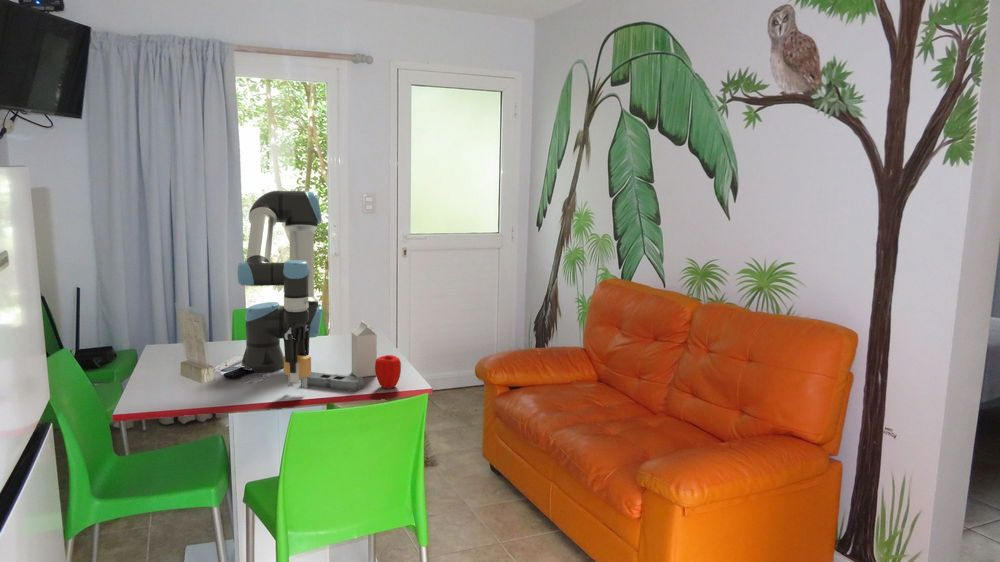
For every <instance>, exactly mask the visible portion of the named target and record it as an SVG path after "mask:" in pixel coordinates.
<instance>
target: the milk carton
mask: <svg viewBox="0 0 1000 562" xmlns="http://www.w3.org/2000/svg"><path fill="white" fill-rule="evenodd" d="M373 329H374V327H373V326H372V325H370V324H367V323H366V322H364V321H363V320H360V323H359V325H357V326H356V327H355V328H354V329H353V330H352V331H351V373H352V375H354V377H362V378H365V377H374V376H376V373H375V362H376V359H377V358H378V357H377V355H378V351H377V346H378V345H377V343H378V342H377V341H378V340H377V334H376V333H375V332H374V331H373ZM376 377H377V376H376Z"/></svg>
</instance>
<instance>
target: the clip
mask: <svg viewBox="0 0 1000 562" xmlns="http://www.w3.org/2000/svg"><path fill="white" fill-rule="evenodd" d="M283 356H284V368H283V375H285V376H287V378H288V379H287V385H288V387H293V386H294V382H290V363H288V362H285V355H283ZM297 362H298V363H299V376H301V377H302V385H301V388H302V389H306V388H307V389H308V386H307V377H308V376H309V375H311V372H312V356H309V355H306V356H301V355H297Z"/></svg>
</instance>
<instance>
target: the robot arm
mask: <svg viewBox="0 0 1000 562" xmlns="http://www.w3.org/2000/svg"><path fill="white" fill-rule="evenodd" d="M321 214H322V213H321V207H320V200H319V195H318V194H317V193H316V192H315V191H307V190H271V191H269V192H266V193H264V194H263V195H261V196H259V198H257V199H256V200H255V202H253V204H252V206H251V207H250V209H249V213H248V221H249V223H250V228H249V229H250V230H249V236H248V244H247V252H246V258H245V259H246V260H245V261H244V262H240V263H238V265H237V282H238V284H239V285H240V286H249V287H250V286H251V287H258V286H259V287H264V286H267V287H268V286H269V287H270V286H274V287H275V286H276V287H277V286H283V306H280V303H279V302H278V301H277V302H274V301H273V302H272V301H271V302H270V301H269V302H261V303H257V304H253V305H251V306H248V307H247V308H246V310H245V319H244V322H245V349H244V353H243V357H242V360H241V367H242V366H245V367H249V368H252V369H253V371H254V372H253V373H268V372H270V373H271V372H274V371H275V372H276V371H279V370H281V369H284V356H285V362H288V363H290V382H293V383H296V384H298V383H299V382H300V380H301V379H302V377H301V376H299V363H298V362H297V355H301V356H309V353H310V339H311V338H316V337H318V336H319V334H320V330H321V321H322V312H323V306H321V305H319V299H317V298H316V297H315V259H314V257H315V252H314V251H315V244H314V243H315V241H314V237H315V236H314V234H315V233H314V232H315V231H317V229H318V227H319V225H320V224H321V223H322V222H323V221H322V215H321ZM277 223H282V224H284V225H285V226H284V227H285V229H286V230H287V231H288V232H289V260H287V261H285V262H271V256H272V246H273V233H274V227H275V225H276V224H277ZM281 339H282V340H283V347H284V349H283V350H284V353H283V350H282V348H281V344H280V343H281V342H280V341H281Z"/></svg>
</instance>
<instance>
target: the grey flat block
mask: <svg viewBox="0 0 1000 562" xmlns="http://www.w3.org/2000/svg"><path fill="white" fill-rule="evenodd" d="M364 378H365V377H356V376H352V375H343V374H342V375H341V374H335V373H334V374H333V373H325V372H317V371H316V372H315V371H311V375H309V376H308V377H307V387H315V388H322V389H331V390H333V389H334V390H339V389H340V391H348V390H351V391H350V392H357V391H358V389H359V388H360V389H362V388H363V387H364V384H365V382H364V380H365V379H364ZM300 386H302V379H300ZM362 386H363V387H362ZM361 387H362V388H361ZM360 389H359V390H360ZM356 390H357V391H356Z"/></svg>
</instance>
